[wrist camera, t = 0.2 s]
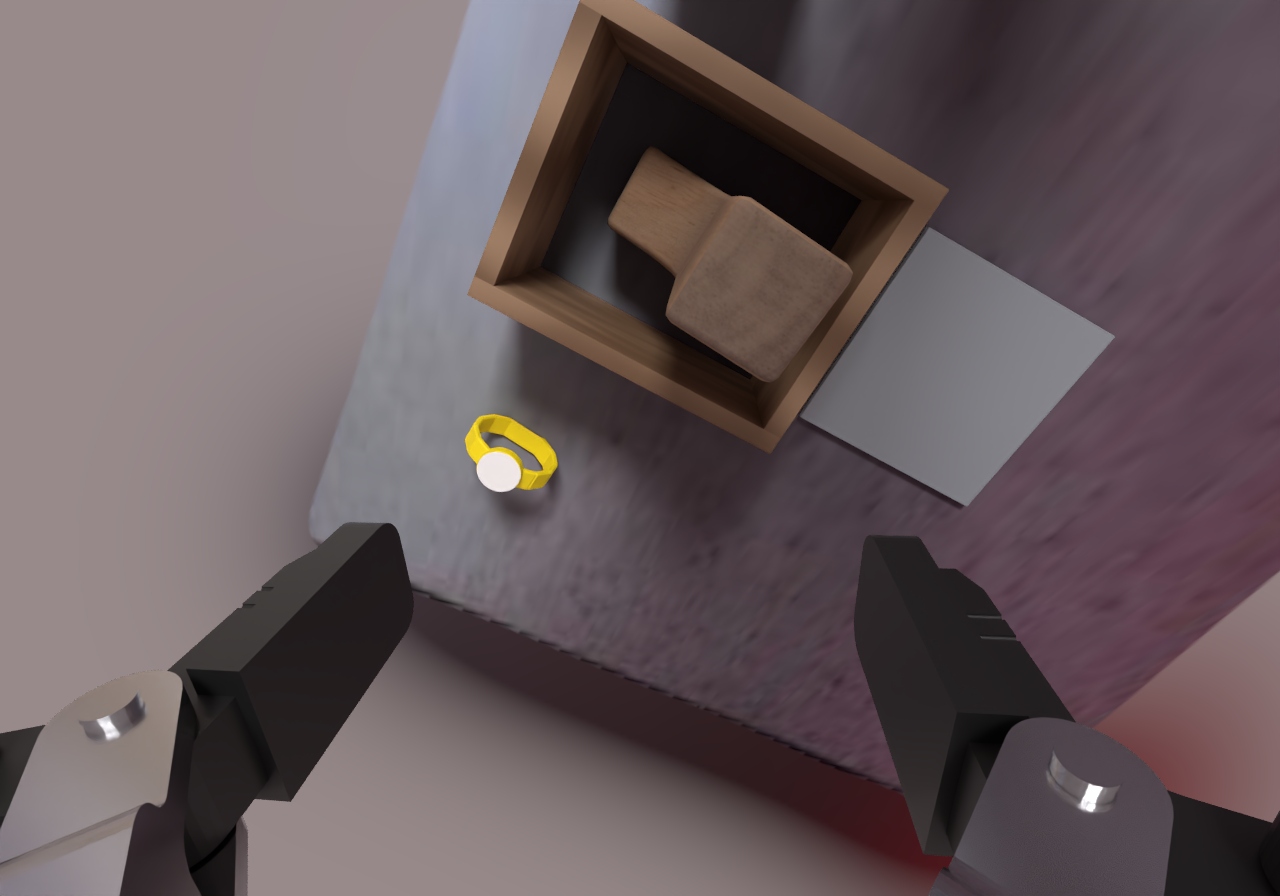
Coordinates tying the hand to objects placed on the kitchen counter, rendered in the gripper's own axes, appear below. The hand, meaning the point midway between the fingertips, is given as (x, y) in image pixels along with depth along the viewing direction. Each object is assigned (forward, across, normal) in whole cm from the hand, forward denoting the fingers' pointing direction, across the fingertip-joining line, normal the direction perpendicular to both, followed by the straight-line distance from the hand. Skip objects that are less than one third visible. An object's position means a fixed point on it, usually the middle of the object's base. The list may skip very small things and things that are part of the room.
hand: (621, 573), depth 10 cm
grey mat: (+29, -16, +5) cm, 34 cm away
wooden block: (+29, -1, -4) cm, 29 cm away
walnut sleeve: (+29, -1, -4) cm, 29 cm away
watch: (+29, +11, +9) cm, 32 cm away
